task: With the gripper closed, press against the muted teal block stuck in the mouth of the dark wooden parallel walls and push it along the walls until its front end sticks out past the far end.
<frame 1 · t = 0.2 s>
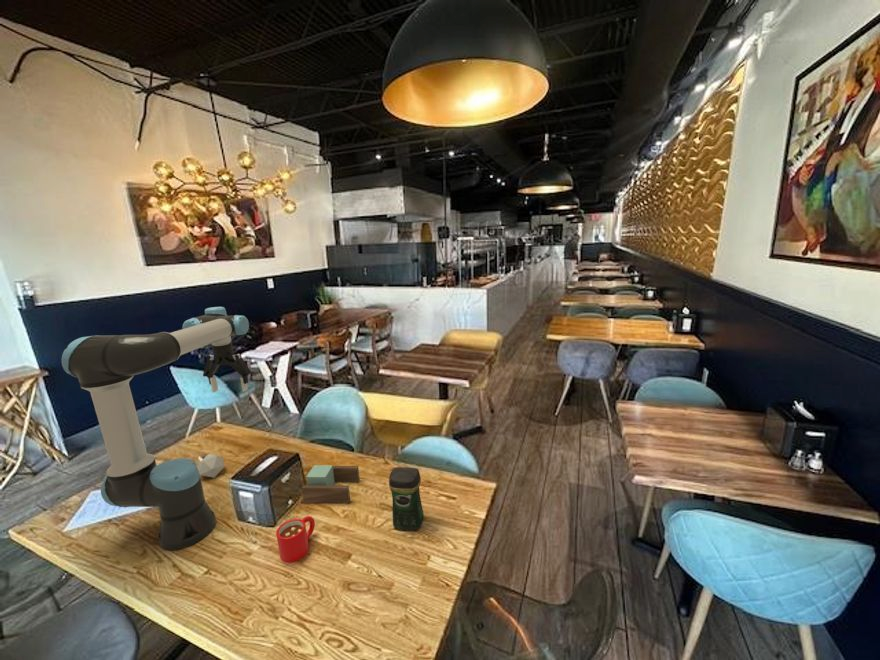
hand: (230, 391, 160), 28 cm above the table, fingers open, 13 cm apart
mug: (300, 546, 109), on the table
die: (213, 474, 148), on the table
coffee jar: (408, 522, 117), on the table
dark wooden parallel walls: (333, 491, 134), on the table
block: (320, 480, 133), point 4 cm above the table, slide at 0.0 cm
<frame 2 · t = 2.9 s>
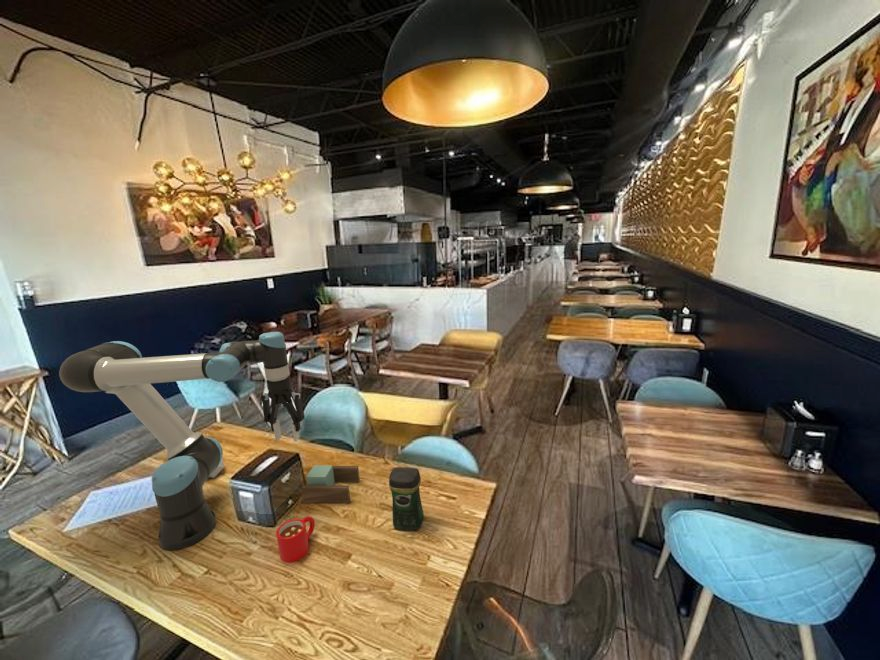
hand: (287, 439, 130), 21 cm above the table, fingers open, 6 cm apart
nothing on the table moved.
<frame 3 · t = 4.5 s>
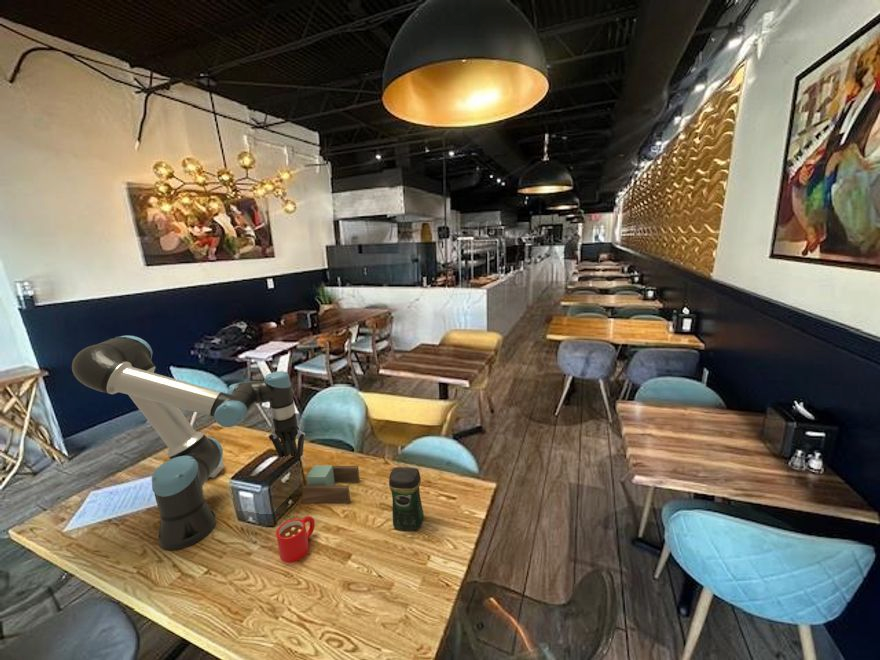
hand: (294, 475, 133), 6 cm above the table, fingers closed
nothing on the table moved.
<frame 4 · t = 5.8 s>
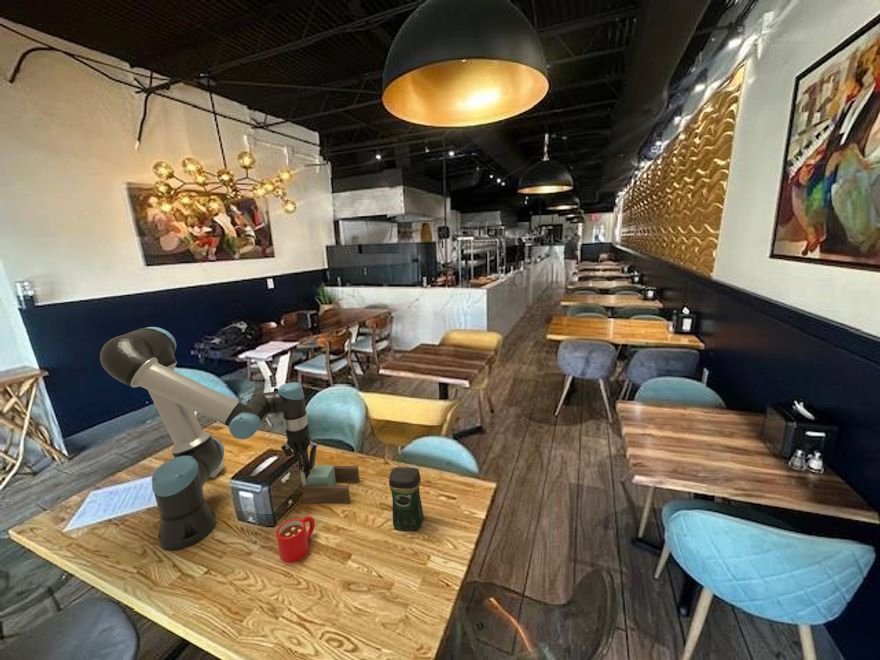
hand: (306, 485, 134), 2 cm above the table, fingers closed
block: (322, 480, 133), point 4 cm above the table, slide at 0.5 cm, touching gripper
everything else where it was.
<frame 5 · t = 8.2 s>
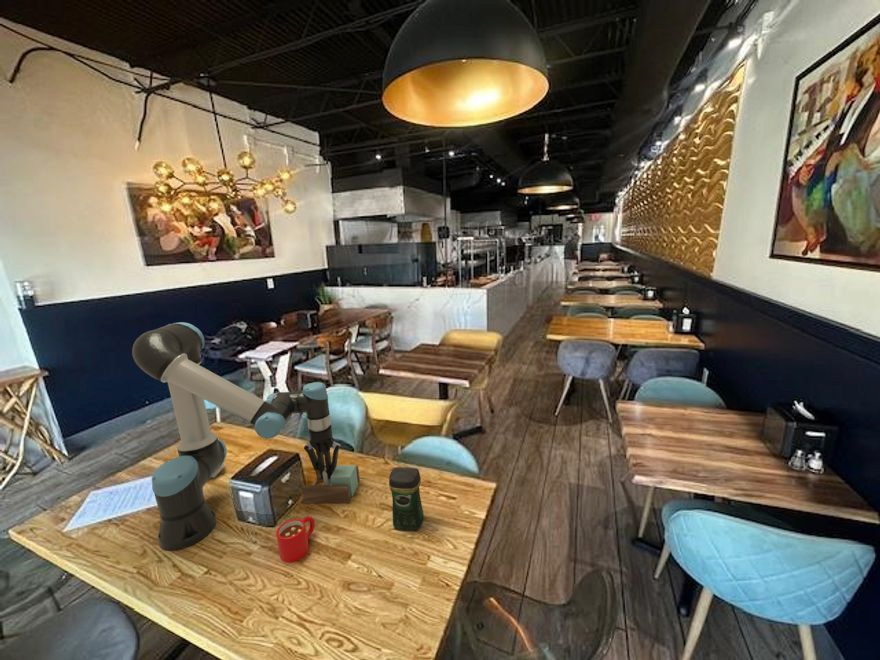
hand: (328, 486, 133), 2 cm above the table, fingers closed
block: (344, 480, 132), point 4 cm above the table, slide at 8.8 cm, touching gripper
everything else where it was.
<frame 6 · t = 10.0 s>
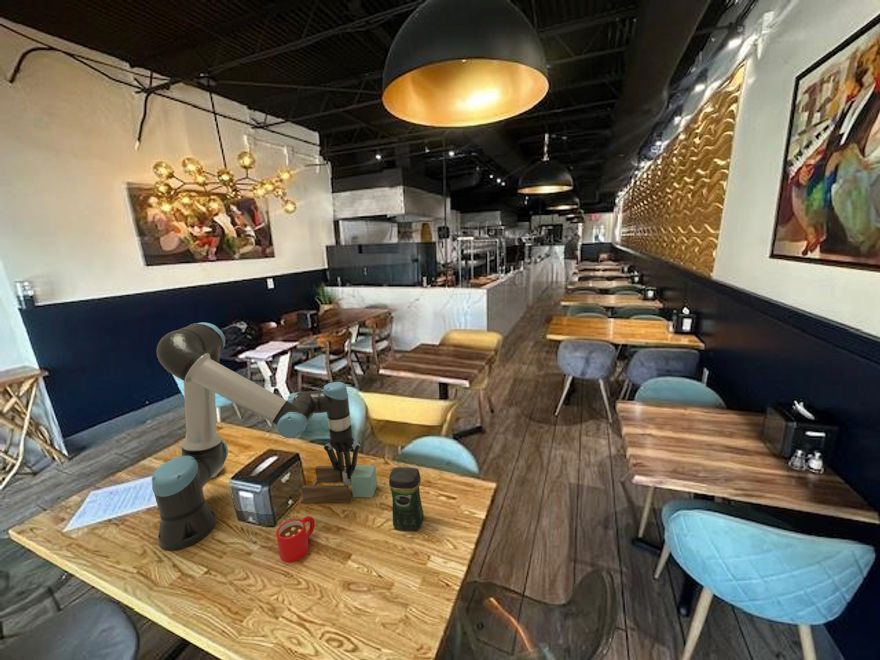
hand: (347, 486, 133), 2 cm above the table, fingers closed
block: (364, 480, 132), point 4 cm above the table, slide at 16.0 cm, touching gripper
everything else where it was.
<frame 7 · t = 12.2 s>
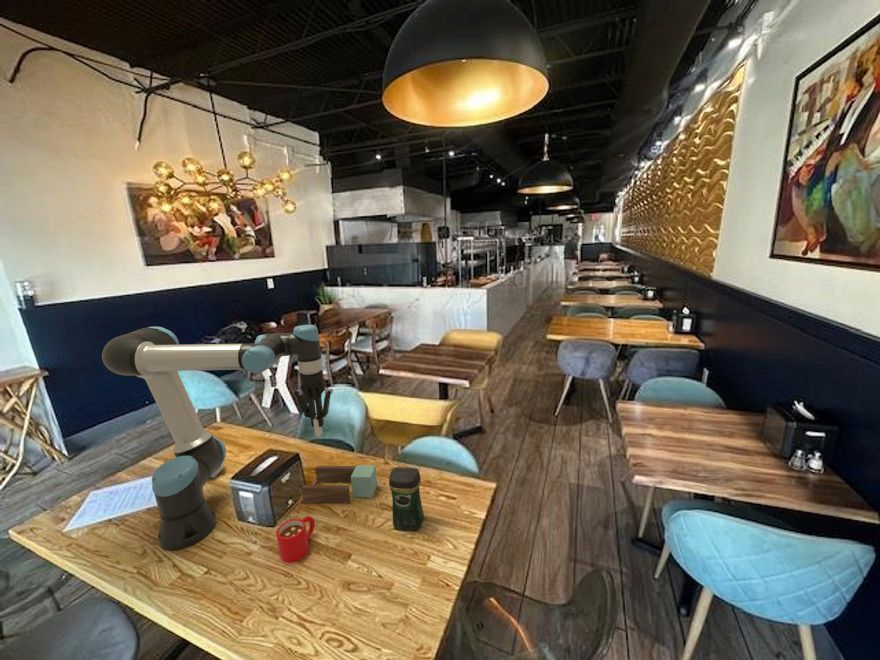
hand: (318, 434, 129), 22 cm above the table, fingers closed
block: (364, 480, 132), point 4 cm above the table, slide at 16.0 cm
everything else where it was.
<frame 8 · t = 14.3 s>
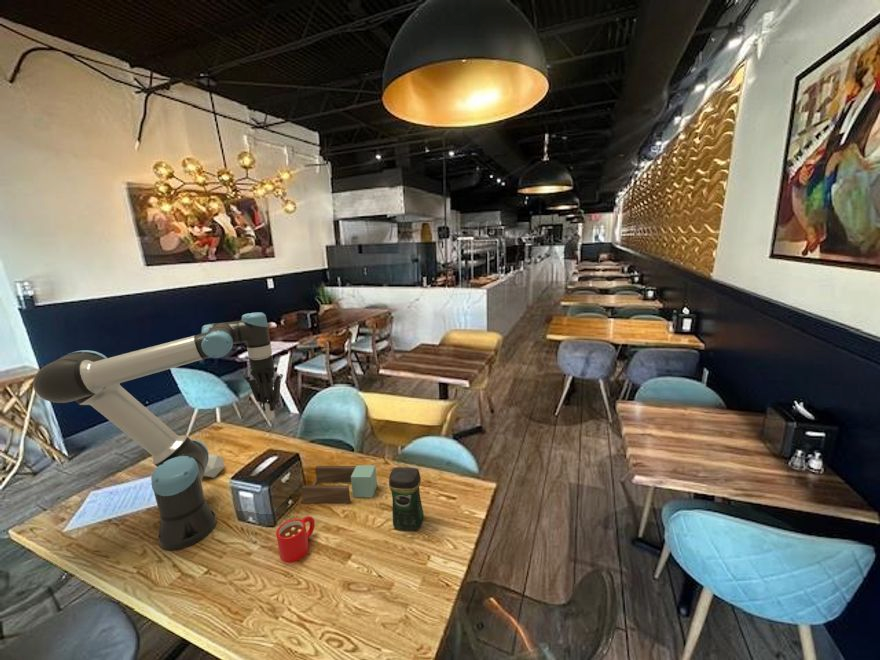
hand: (271, 418, 134), 26 cm above the table, fingers closed
nothing on the table moved.
at the end: block slide at 16.0 cm; block touching nothing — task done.
